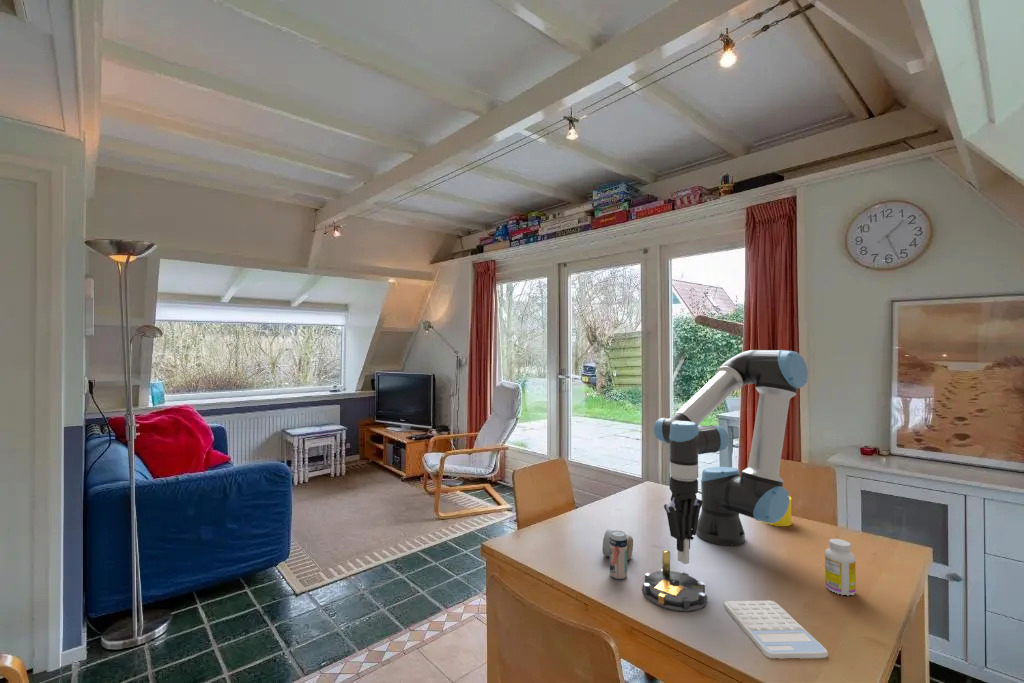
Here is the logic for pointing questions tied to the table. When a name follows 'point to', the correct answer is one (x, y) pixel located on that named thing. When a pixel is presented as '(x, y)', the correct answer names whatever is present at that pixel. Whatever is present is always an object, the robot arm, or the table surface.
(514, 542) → the table surface
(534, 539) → the table surface
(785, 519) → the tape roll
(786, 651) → the calculator
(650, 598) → the hub plate
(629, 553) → the ceramic mug
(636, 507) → the table surface
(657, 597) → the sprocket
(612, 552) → the beer can
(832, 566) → the supplement bottle
